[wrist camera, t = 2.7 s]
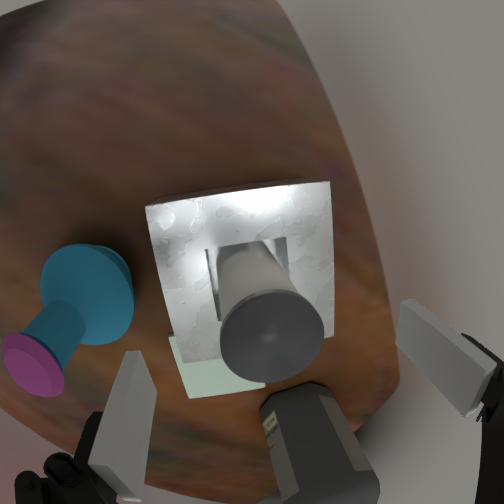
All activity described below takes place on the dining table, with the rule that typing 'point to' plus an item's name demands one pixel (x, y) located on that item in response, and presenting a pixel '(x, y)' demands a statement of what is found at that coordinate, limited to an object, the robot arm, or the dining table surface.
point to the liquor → (316, 449)
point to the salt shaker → (263, 316)
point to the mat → (209, 376)
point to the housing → (236, 232)
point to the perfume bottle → (71, 315)
